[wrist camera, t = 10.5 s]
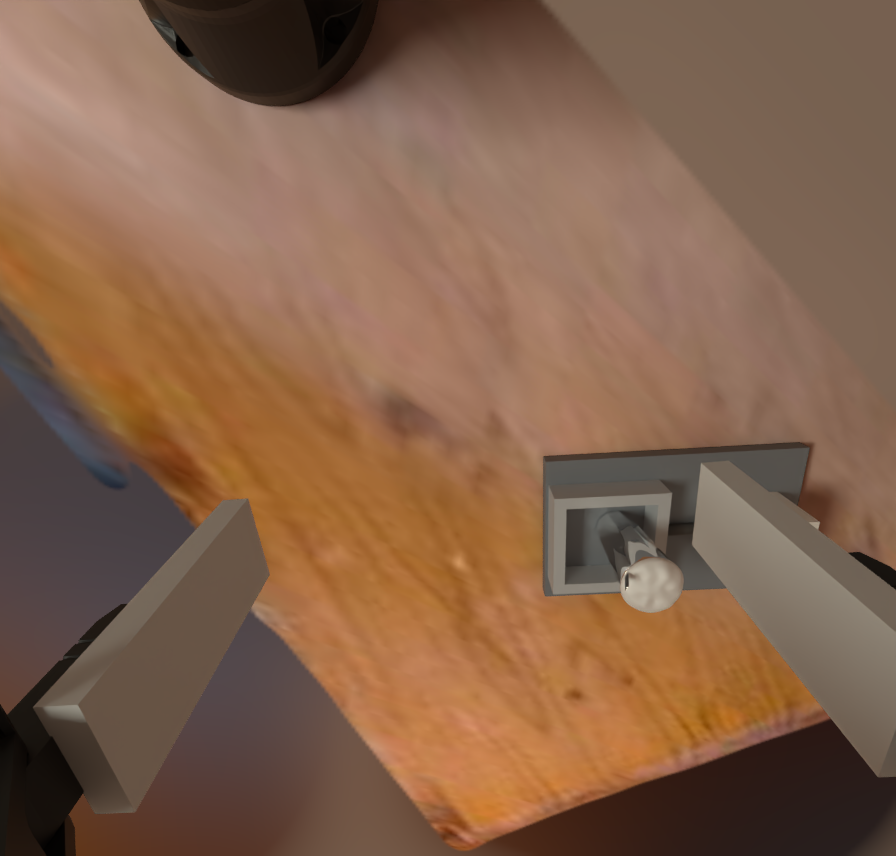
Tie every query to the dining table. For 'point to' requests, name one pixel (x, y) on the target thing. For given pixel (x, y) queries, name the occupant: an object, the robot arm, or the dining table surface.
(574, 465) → the dock
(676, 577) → the milkshake
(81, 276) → the dining table surface
